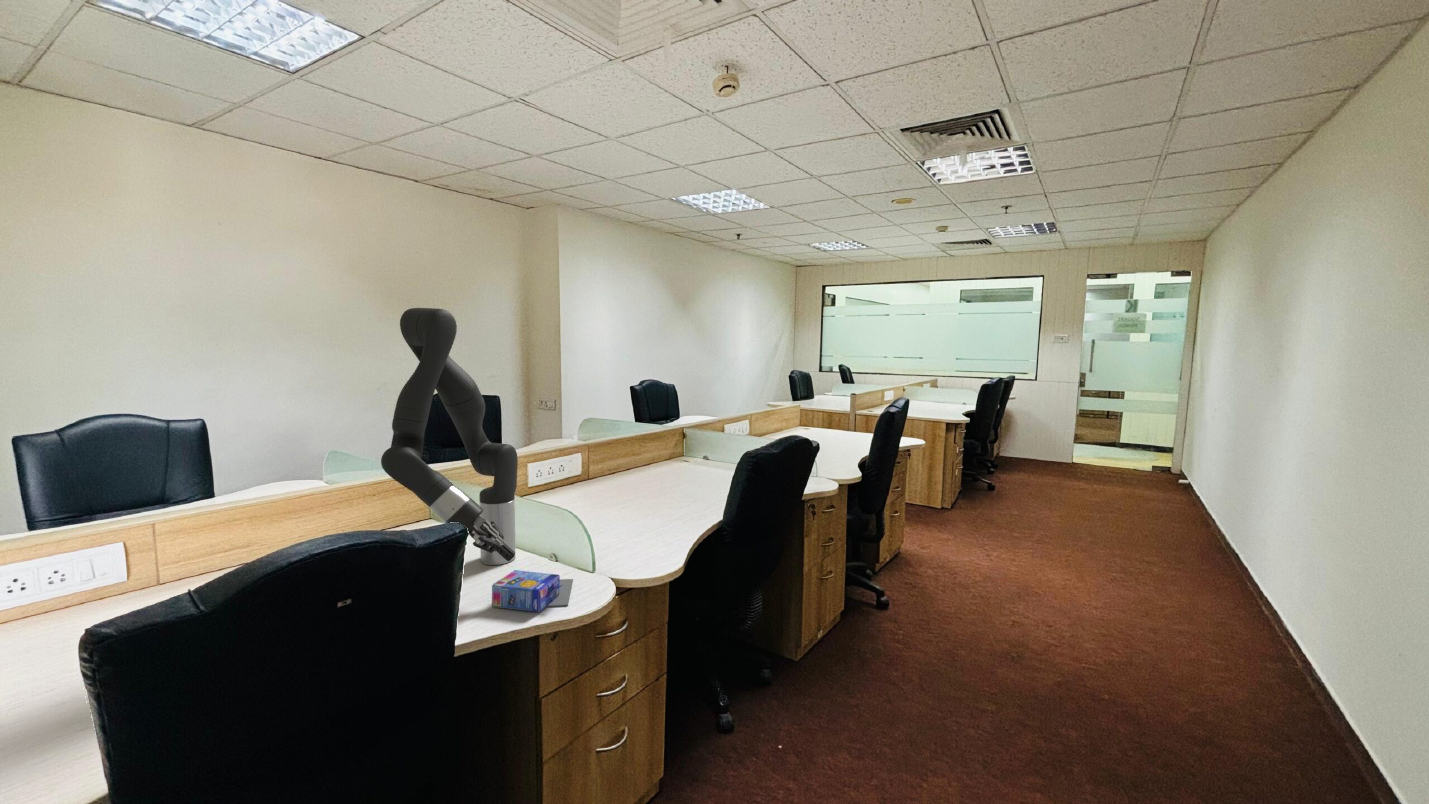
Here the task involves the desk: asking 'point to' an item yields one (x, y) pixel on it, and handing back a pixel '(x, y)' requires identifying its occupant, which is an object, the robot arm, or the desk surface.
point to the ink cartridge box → (525, 590)
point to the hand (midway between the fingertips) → (512, 557)
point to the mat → (562, 594)
